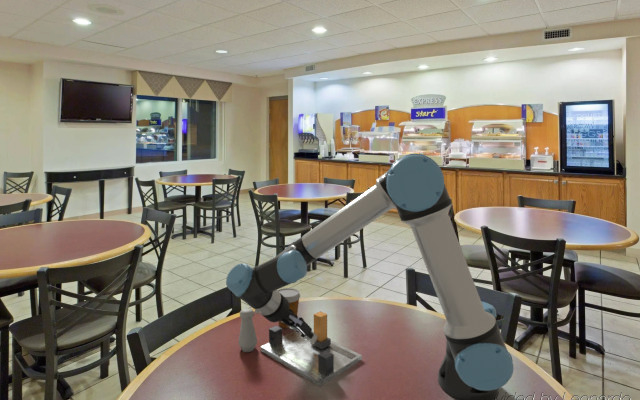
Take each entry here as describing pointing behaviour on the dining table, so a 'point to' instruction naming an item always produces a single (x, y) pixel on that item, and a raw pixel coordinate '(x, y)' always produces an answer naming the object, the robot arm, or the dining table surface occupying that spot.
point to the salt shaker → (247, 331)
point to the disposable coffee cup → (290, 301)
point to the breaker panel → (309, 356)
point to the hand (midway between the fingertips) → (314, 339)
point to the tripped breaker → (321, 330)
